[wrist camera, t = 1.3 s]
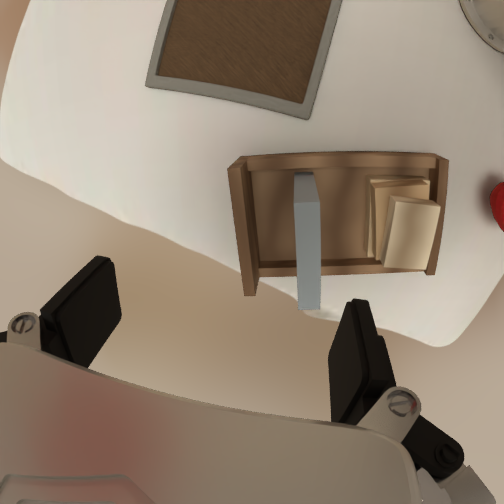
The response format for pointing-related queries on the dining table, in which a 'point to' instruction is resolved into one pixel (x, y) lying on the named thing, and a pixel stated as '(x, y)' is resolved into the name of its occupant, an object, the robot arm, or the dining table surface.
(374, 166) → the tray
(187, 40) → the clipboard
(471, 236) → the dining table surface
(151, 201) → the dining table surface
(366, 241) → the offcut bottom
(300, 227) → the grey square slab
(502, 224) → the strawberry
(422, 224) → the offcut top
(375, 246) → the offcut middle
